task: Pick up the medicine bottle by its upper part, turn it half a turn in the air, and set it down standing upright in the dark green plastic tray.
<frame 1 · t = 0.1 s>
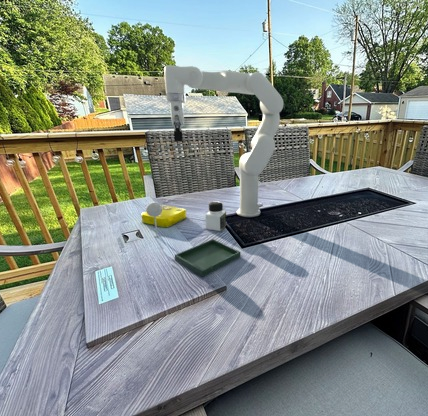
hand: (178, 140, 117), 37 cm above the table, tool pointing down, fingers open, 9 cm apart
medicine bottle: (216, 227, 120), on the table
lollipop: (157, 237, 108), on the table
tray: (208, 258, 94), on the table
yellow flat block: (165, 220, 125), on the table
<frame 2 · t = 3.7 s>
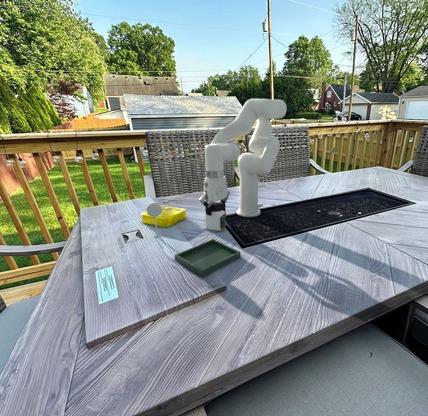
hand: (215, 212, 117), 7 cm above the table, tool pointing down, fingers closed on medicine bottle, 7 cm apart
medicine bottle: (216, 227, 120), on the table, touching gripper
everything else where it was.
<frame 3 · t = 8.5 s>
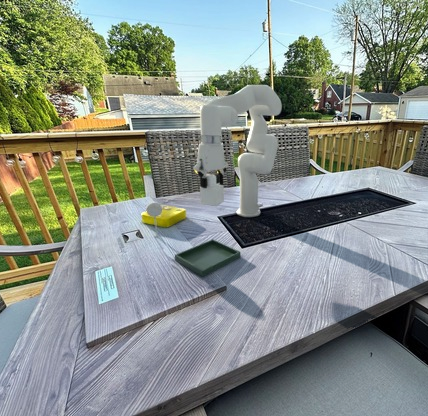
hand: (212, 185, 104), 22 cm above the table, tool pointing down, fingers closed on medicine bottle, 7 cm apart
medicine bottle: (212, 203, 106), point 15 cm above the table, touching gripper
everything else where it was.
when the fingers open (8 cm above the table, at t = 13.6 s): medicine bottle stays where it is, resting on tray.
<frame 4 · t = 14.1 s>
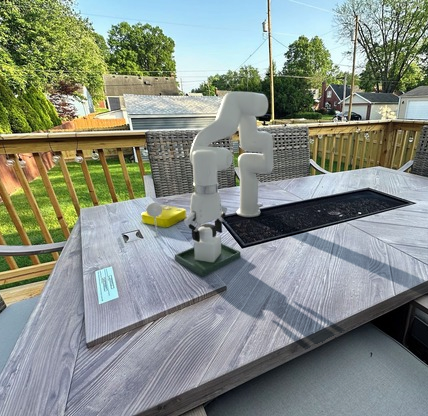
hand: (207, 235, 91), 9 cm above the table, tool pointing down, fingers open, 9 cm apart
medicine bottle: (208, 257, 94), resting on tray
everything else where it was.
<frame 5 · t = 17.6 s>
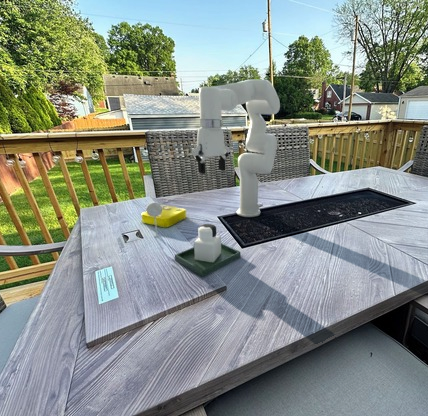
hand: (212, 171, 100), 28 cm above the table, tool pointing down, fingers open, 9 cm apart
nothing on the table moved.
at the end: medicine bottle inside the target area in the tray (0.2 cm from its centre), point 0.4 cm above the tray's base; medicine bottle tilted 0°; the gripper is holding nothing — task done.
